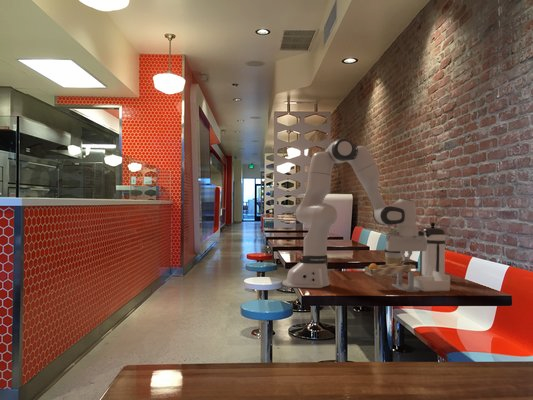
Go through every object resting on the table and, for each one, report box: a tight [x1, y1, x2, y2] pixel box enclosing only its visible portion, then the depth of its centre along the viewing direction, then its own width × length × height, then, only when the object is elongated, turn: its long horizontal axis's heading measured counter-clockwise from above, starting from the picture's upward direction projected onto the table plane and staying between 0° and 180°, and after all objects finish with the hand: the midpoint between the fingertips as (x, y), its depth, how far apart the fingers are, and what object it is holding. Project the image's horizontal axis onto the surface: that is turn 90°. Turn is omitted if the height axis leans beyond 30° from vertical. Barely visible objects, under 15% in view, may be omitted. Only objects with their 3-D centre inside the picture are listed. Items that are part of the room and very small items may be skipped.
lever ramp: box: [364, 261, 416, 277], centre depth 197 cm, size 25×16×4 cm, turn 98°
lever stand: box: [391, 271, 420, 293], centre depth 194 cm, size 6×15×8 cm, turn 8°
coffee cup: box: [384, 248, 403, 278], centre depth 229 cm, size 10×10×15 cm
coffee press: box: [418, 222, 447, 276], centre depth 219 cm, size 17×16×30 cm
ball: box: [368, 263, 379, 269], centre depth 191 cm, size 4×4×4 cm
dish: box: [414, 271, 451, 292], centre depth 195 cm, size 13×14×7 cm
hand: (406, 260), depth 203 cm, fingers closed
